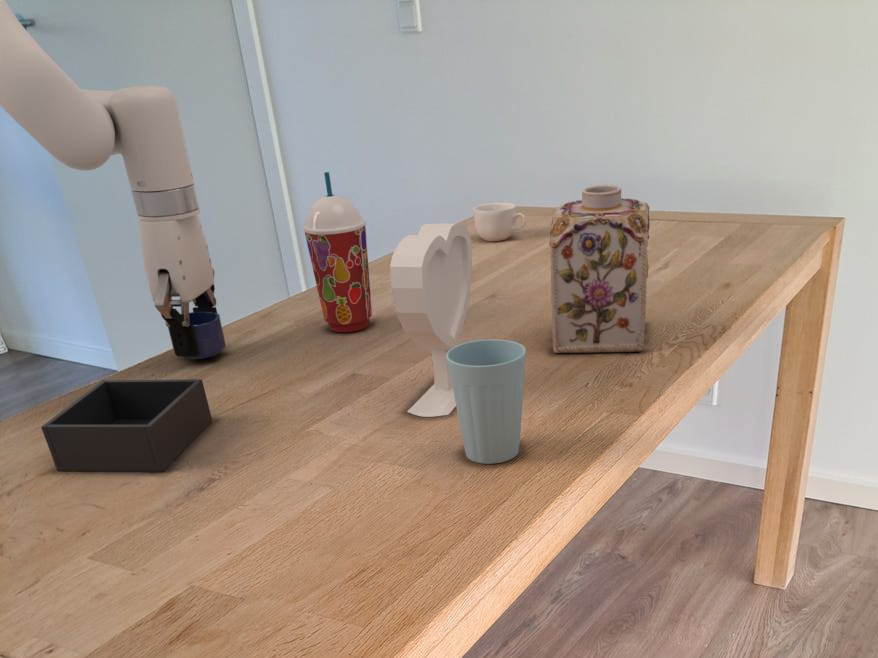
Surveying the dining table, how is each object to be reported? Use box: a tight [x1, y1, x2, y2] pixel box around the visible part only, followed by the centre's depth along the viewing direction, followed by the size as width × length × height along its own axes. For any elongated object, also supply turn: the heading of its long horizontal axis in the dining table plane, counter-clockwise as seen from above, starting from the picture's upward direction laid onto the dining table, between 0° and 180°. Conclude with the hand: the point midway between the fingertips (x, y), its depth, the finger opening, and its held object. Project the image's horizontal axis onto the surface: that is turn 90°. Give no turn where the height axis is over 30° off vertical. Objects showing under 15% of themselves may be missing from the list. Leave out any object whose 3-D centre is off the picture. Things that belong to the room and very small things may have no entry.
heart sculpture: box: [389, 222, 473, 418], centre depth 102 cm, size 16×5×18 cm, turn 162°
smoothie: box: [302, 171, 373, 334], centre depth 126 cm, size 8×8×20 cm
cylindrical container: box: [167, 311, 227, 360], centre depth 123 cm, size 7×7×4 cm
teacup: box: [472, 202, 527, 242], centre depth 167 cm, size 10×8×5 cm
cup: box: [446, 338, 527, 465], centre depth 91 cm, size 8×8×10 cm
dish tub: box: [40, 378, 213, 473], centre depth 100 cm, size 12×13×5 cm
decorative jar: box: [548, 183, 651, 354], centre depth 115 cm, size 12×12×18 cm
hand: (199, 345), depth 124 cm, fingers closed on cylindrical container, 6 cm apart
